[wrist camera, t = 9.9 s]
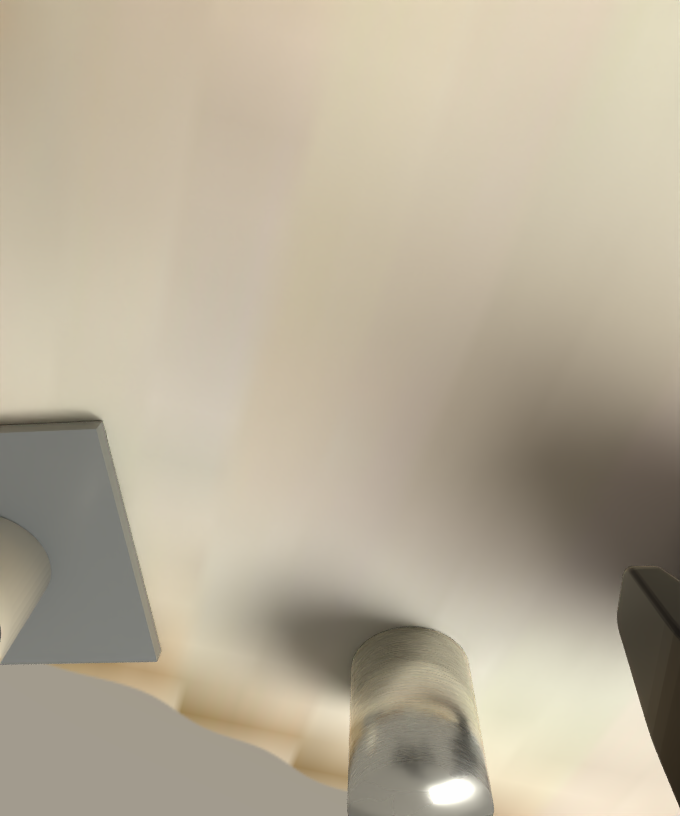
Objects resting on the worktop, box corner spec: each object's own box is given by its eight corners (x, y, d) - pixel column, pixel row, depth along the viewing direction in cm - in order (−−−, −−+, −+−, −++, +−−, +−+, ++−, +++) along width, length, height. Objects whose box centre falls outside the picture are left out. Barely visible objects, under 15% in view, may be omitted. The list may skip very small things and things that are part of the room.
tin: (470, 625, 27) (496, 762, 21) (468, 710, 29) (491, 854, 23) (347, 628, 27) (342, 764, 21) (354, 712, 29) (351, 854, 24)
